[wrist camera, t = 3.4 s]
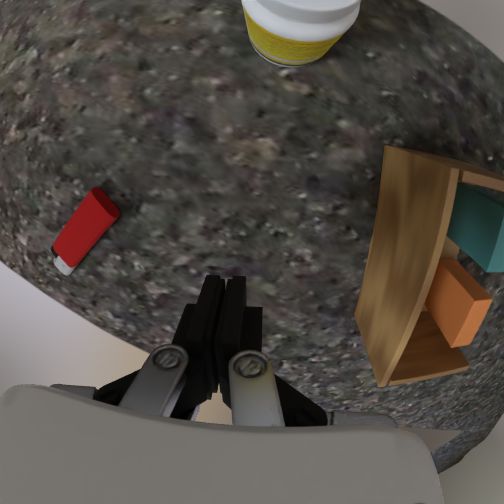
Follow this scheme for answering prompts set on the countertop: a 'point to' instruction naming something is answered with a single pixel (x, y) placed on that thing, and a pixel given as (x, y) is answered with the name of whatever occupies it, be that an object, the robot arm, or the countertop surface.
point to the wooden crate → (411, 264)
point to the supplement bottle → (297, 28)
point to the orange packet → (456, 302)
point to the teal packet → (478, 226)
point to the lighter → (83, 230)
